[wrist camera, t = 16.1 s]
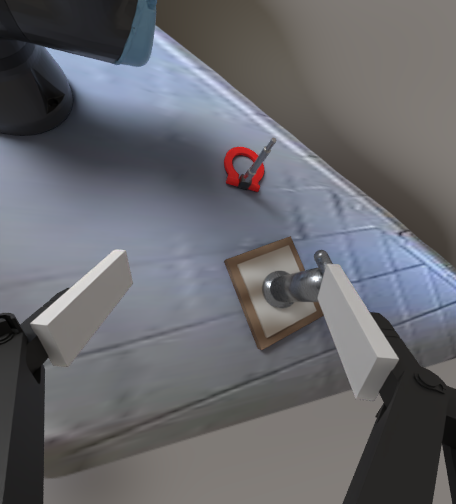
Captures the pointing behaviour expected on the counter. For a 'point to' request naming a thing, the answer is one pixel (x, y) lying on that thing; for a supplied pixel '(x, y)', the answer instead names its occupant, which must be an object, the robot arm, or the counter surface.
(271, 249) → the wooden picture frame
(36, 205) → the counter surface
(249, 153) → the tow hook
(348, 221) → the counter surface
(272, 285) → the metal mooring bollard
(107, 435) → the counter surface
